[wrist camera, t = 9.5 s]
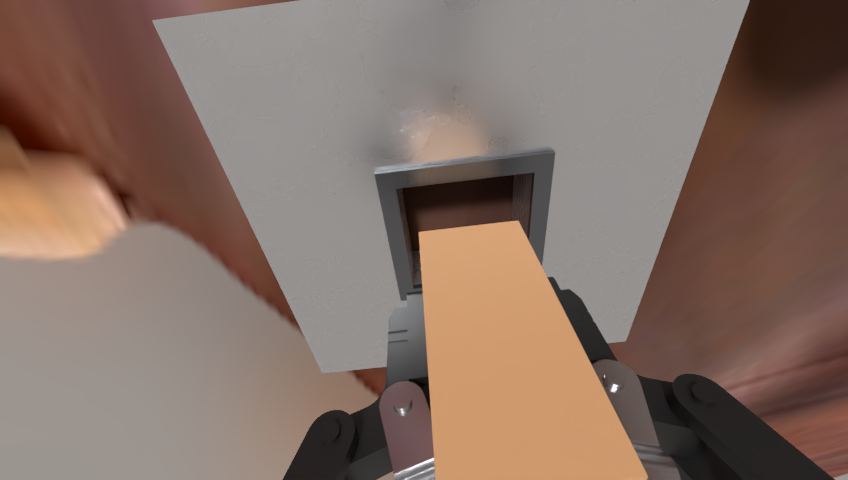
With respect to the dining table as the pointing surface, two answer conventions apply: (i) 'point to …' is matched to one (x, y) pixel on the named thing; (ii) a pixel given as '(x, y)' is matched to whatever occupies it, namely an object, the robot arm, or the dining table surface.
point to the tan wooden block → (510, 367)
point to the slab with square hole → (452, 137)
